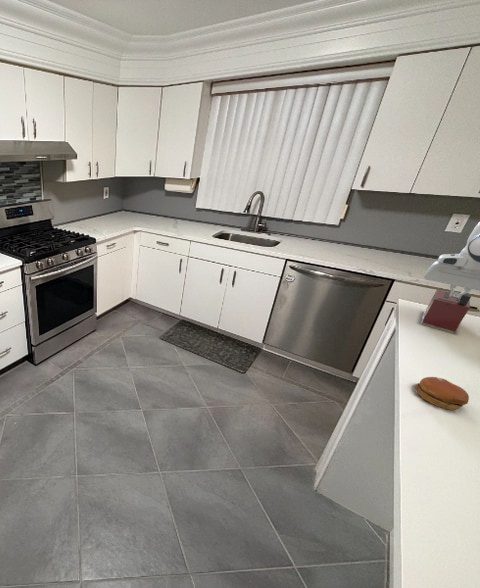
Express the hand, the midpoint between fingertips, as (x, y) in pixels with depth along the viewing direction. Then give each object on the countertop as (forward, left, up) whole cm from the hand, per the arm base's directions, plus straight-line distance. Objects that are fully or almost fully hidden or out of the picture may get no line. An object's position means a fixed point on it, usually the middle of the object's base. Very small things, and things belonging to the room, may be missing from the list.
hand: (454, 297), depth 115 cm
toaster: (-1, -5, -13) cm, 14 cm away
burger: (+12, +55, -13) cm, 58 cm away
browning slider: (-2, +1, -2) cm, 3 cm away
